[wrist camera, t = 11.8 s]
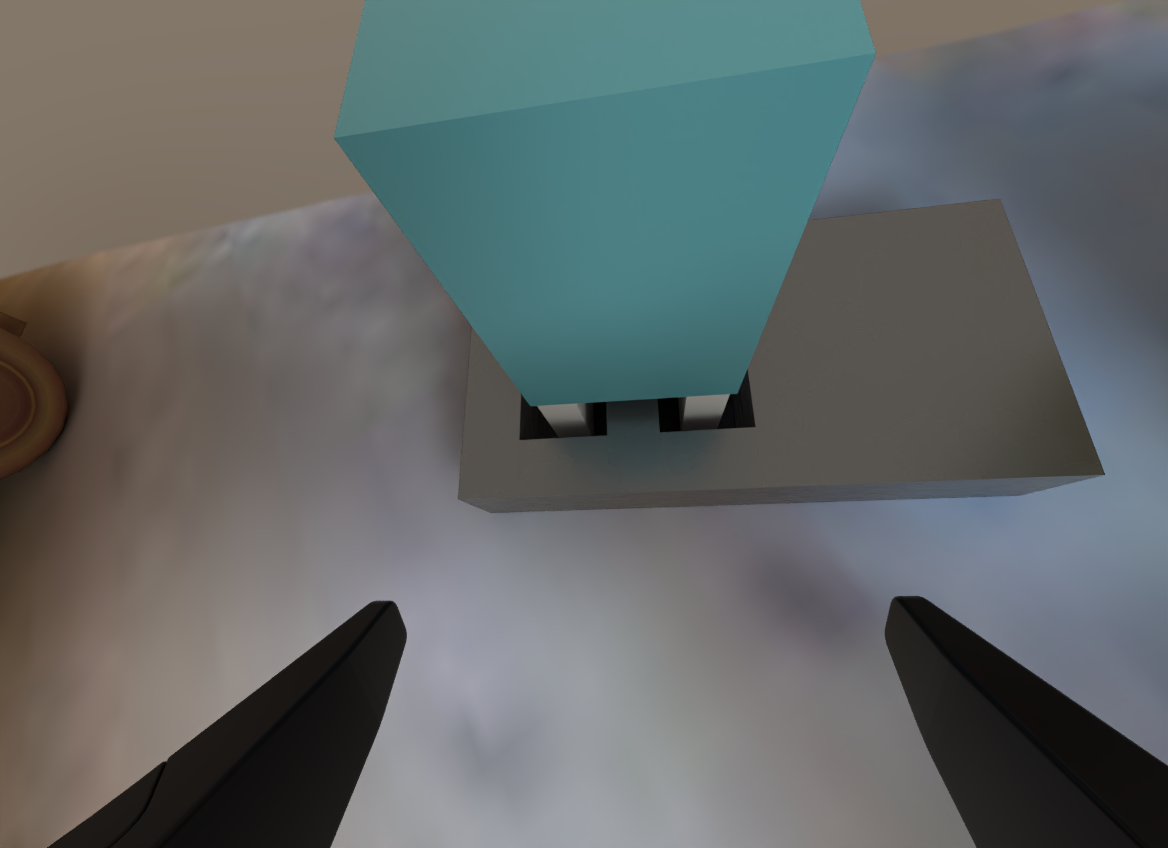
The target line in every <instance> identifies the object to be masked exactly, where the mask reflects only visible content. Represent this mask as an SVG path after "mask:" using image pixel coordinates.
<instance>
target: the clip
mask: <svg viewBox="0 0 1168 848" xmlns="http://www.w3.org/2000/svg"><path fill="white" fill-rule="evenodd" d="M875 54H876V51H875V48H874V45H873V42H872V39H871V35H870V32H869V29H868V25H867V22H866V19H865V15H864V12H863V9H862V5H861V2H860V0H365V3H364V8H363V12H362V17H361V21H360V25H359V30H358V34H357V39H356V43H355V47H354V52H353V56H352V60H351V65H350V69H349V74H348V78H347V82H346V87H345V91H344V96H343V100H342V104H341V108H340V113H339V117H338V122H337V126H336V130H335V135H334V139H335V140H336V142H337V143H338V144H339V145H340V147H341V148H342V150H343V151H344V152H345V154H346V155H347V157H348V158H349V159H350V161H351V162H352V163H353V165H354V166H355V168H356V169H357V170H358V172H359V173H360V174H361V176H362V177H363V178H364V180H365V181H366V183H367V184H368V185H369V187H370V188H371V189H372V191H373V192H374V193H375V195H376V196H377V198H378V199H379V200H380V202H381V203H382V204H383V206H384V207H385V208H386V210H387V211H388V213H389V214H390V215H391V217H392V218H393V219H394V221H395V222H396V223H397V225H398V226H399V228H400V229H401V230H402V232H403V233H404V234H405V236H406V237H407V238H408V240H409V241H410V243H411V244H412V245H413V247H414V248H415V249H416V251H417V252H418V253H419V255H420V256H421V258H422V259H423V260H424V262H425V263H426V264H427V266H428V267H429V269H430V270H431V271H432V273H433V274H434V275H435V277H436V278H437V279H438V281H439V282H440V284H441V285H442V286H443V288H444V289H445V290H446V292H447V293H448V294H449V296H450V297H451V299H452V300H453V301H454V303H455V304H456V305H457V307H458V308H459V309H460V311H461V312H462V314H463V315H464V316H465V318H466V319H467V320H468V322H469V323H470V324H471V326H472V327H473V329H474V330H475V331H476V333H477V334H478V335H479V337H480V338H481V339H482V341H483V342H484V344H485V345H486V346H487V348H488V349H489V350H490V352H491V353H492V354H493V356H494V357H495V359H496V360H497V361H498V363H499V364H500V365H501V367H502V368H503V369H504V371H505V372H506V374H507V375H508V376H509V378H510V379H511V380H512V382H513V383H514V384H515V386H516V387H517V389H518V390H519V391H520V393H521V394H522V395H523V397H524V398H525V399H526V401H527V402H528V404H529V405H530V406H537V407H538V408H539V410H540V411H541V412H542V414H543V415H544V417H545V418H546V420H547V421H548V422H549V424H550V425H551V427H552V428H553V430H554V431H555V433H556V434H557V435H558V437H559V438H569V437H587V436H594V402H609V401H626V400H642V399H658V398H675V397H678V407H679V420H680V431H695V430H713V429H717V428H718V425H719V423H720V420H721V417H722V414H723V412H724V409H725V406H726V404H727V401H728V398H729V395H730V394H737V393H738V391H739V388H740V386H741V383H742V381H743V379H744V376H745V374H746V371H747V369H748V366H749V364H750V361H751V359H752V356H753V354H754V351H755V349H756V347H757V344H758V342H759V339H760V337H761V334H762V332H763V329H764V327H765V324H766V322H767V320H768V317H769V315H770V312H771V310H772V307H773V305H774V302H775V300H776V297H777V295H778V293H779V290H780V288H781V285H782V283H783V280H784V278H785V275H786V273H787V270H788V268H789V266H790V263H791V261H792V258H793V256H794V253H795V251H796V248H797V246H798V243H799V241H800V239H801V236H802V234H803V231H804V229H805V226H806V224H807V221H808V219H809V216H810V214H811V212H812V209H813V207H814V204H815V202H816V199H817V197H818V194H819V192H820V189H821V187H822V184H823V182H824V180H825V177H826V175H827V172H828V170H829V167H830V165H831V162H832V160H833V157H834V155H835V153H836V150H837V148H838V145H839V143H840V140H841V138H842V135H843V133H844V130H845V128H846V126H847V123H848V121H849V118H850V116H851V113H852V111H853V108H854V106H855V103H856V101H857V99H858V96H859V94H860V91H861V89H862V86H863V84H864V81H865V79H866V76H867V74H868V72H869V69H870V67H871V64H872V62H873V59H874V57H875Z"/></svg>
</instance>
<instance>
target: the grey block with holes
mask: <svg viewBox="0 0 1168 848" xmlns="http://www.w3.org/2000/svg"><path fill="white" fill-rule="evenodd" d="M732 397H733V405H734V413H735V421H736V428H731V429H713V430H695V431H677V432H660V430H659V414H658V399H642V400H626V401H609V402H606V408H607V435H605V436H587V437H569V438H551V439H542V432H543V414H542V412H541V411H540V410H539V408H538V407H537V406H530V405H529V404H528V402H527V401H526V399H525V398H524V397H523V395H522V394H521V393H520V391H519V390H518V389H517V387H516V386H515V384H514V383H513V382H512V380H511V379H510V378H509V376H508V375H507V374H506V372H505V371H504V369H503V368H502V367H501V365H500V364H499V363H498V361H497V360H496V359H495V357H494V356H493V354H492V353H491V352H490V350H489V349H488V348H487V346H486V345H485V344H484V342H483V341H482V339H481V338H480V337H479V335H478V334H477V333H476V331H475V330H474V329H473V327H472V328H471V340H470V353H469V366H468V378H467V391H466V403H465V416H464V429H463V441H462V454H461V467H460V479H459V492H458V499H459V500H461V501H464V502H466V503H469V504H471V505H473V506H476V507H478V508H481V509H483V510H485V511H488V512H490V513H498V512H529V511H559V510H590V509H620V508H651V507H681V506H712V505H743V504H773V503H804V502H834V501H865V500H895V499H926V498H956V497H987V496H1018V495H1024V494H1028V493H1032V492H1036V491H1041V490H1045V489H1049V488H1053V487H1057V486H1061V485H1065V484H1069V483H1073V482H1078V481H1082V480H1086V479H1090V478H1094V477H1098V476H1102V475H1105V473H1104V470H1103V468H1102V465H1101V463H1100V460H1099V457H1098V455H1097V452H1096V449H1095V447H1094V444H1093V442H1092V439H1091V436H1090V434H1089V431H1088V428H1087V426H1086V423H1085V421H1084V418H1083V415H1082V413H1081V410H1080V408H1079V405H1078V402H1077V400H1076V397H1075V394H1074V392H1073V389H1072V387H1071V384H1070V381H1069V379H1068V376H1067V373H1066V371H1065V368H1064V366H1063V363H1062V360H1061V358H1060V355H1059V352H1058V350H1057V347H1056V345H1055V342H1054V339H1053V337H1052V334H1051V332H1050V329H1049V326H1048V324H1047V321H1046V318H1045V316H1044V313H1043V311H1042V308H1041V305H1040V303H1039V300H1038V297H1037V295H1036V292H1035V290H1034V287H1033V284H1032V282H1031V279H1030V276H1029V274H1028V271H1027V269H1026V266H1025V263H1024V261H1023V258H1022V255H1021V253H1020V250H1019V248H1018V245H1017V242H1016V240H1015V237H1014V235H1013V232H1012V229H1011V227H1010V224H1009V221H1008V219H1007V216H1006V214H1005V211H1004V208H1003V206H1002V203H1001V200H1000V199H993V200H984V201H975V202H966V203H958V204H949V205H940V206H931V207H923V208H914V209H905V210H896V211H888V212H879V213H870V214H861V215H853V216H844V217H835V218H826V219H817V220H809V221H807V224H806V226H805V229H804V231H803V234H802V236H801V239H800V241H799V243H798V246H797V248H796V251H795V253H794V256H793V258H792V261H791V263H790V266H789V268H788V270H787V273H786V275H785V278H784V280H783V283H782V285H781V288H780V290H779V293H778V295H777V297H776V300H775V302H774V305H773V307H772V310H771V312H770V315H769V317H768V320H767V322H766V324H765V327H764V329H763V332H762V334H761V337H760V339H759V342H758V344H757V347H756V349H755V351H754V354H753V356H752V359H751V361H750V364H749V366H748V369H747V371H746V374H745V376H744V379H743V381H742V383H741V386H740V388H739V391H738V393H737V394H732Z"/></svg>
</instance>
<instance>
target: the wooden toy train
mask: <svg viewBox="0 0 1168 848" xmlns="http://www.w3.org/2000/svg"><path fill="white" fill-rule="evenodd" d="M26 324H27V323H26V322H23V321H21V320H19V319H16V318H14V317H11V316H9V315H6V314H4V313H1V312H0V479H2V478H5V477H7V476H9V475H12V474H14V473H16V472H19V471H21V470H22V469H24V468H25V467H27V466H28V465H29V464H31V463H32V462H33V461H34V460H36V459H37V458H38V457H40V456H41V455H42V454H43V453H45V452H46V451H47V450H49V448H50V447H51V446H52V444H53V443H54V441H55V440H56V438H57V437H58V435H59V434H60V432H61V431H62V430H63V426H64V422H65V418H66V414H67V410H68V404H67V398H66V392H65V386H64V384H63V382H62V380H61V378H60V377H59V375H58V373H57V372H56V370H55V368H54V366H53V365H52V363H50V362H49V361H48V360H47V359H46V358H45V357H44V356H43V355H42V354H40V353H39V352H38V351H37V350H36V349H35V348H34V347H33V346H32V345H30V344H29V343H28V342H26V341H25V340H23V339H21V338H20V336H21V334H22V332H23V330H24V328H25V326H26Z"/></svg>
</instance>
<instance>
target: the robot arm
mask: <svg viewBox="0 0 1168 848" xmlns="http://www.w3.org/2000/svg"><path fill="white" fill-rule="evenodd" d="M406 639H407V632H406V627H405V625H404V622H403V620H402V617H401V615H400V612H399V610H398V607H397V605H396V603H394V602H393V601H373V602H371V603H369V604H368V605H367V606H365V607H364V608H363V609H361V610H360V611H359V612H357V613H356V614H355V615H354V616H352V617H351V618H350V619H348V620H347V621H346V622H344V623H343V624H342V625H341V626H339V627H338V628H337V629H335V630H334V631H333V632H331V633H330V634H329V635H328V636H326V637H325V638H324V639H322V640H321V641H320V642H318V643H317V644H316V645H315V646H313V647H312V648H311V649H309V650H308V651H307V652H305V653H304V654H303V655H302V656H300V657H299V658H298V659H296V660H295V661H294V662H292V663H291V664H290V665H289V666H287V667H286V668H285V669H283V670H282V671H281V672H279V673H278V674H277V675H275V676H274V677H273V678H272V679H270V680H269V681H268V682H266V683H265V684H264V685H262V686H261V687H260V688H259V689H257V690H256V691H255V692H253V693H252V694H251V695H249V696H248V697H247V698H246V699H244V700H243V701H242V702H240V703H239V704H238V705H236V706H235V707H234V708H233V709H231V710H230V711H229V712H227V713H226V714H225V715H223V716H222V717H221V718H220V719H218V720H217V721H216V722H214V723H213V724H212V725H210V726H209V727H208V728H207V729H205V730H204V731H203V732H201V733H200V734H199V735H197V736H196V737H195V738H193V739H192V740H191V741H190V742H188V743H187V744H186V745H184V746H183V747H182V748H180V749H179V750H178V751H177V752H175V753H174V754H173V755H171V756H170V757H169V758H168V760H167V762H166V761H165V762H162V763H161V764H159V765H158V766H157V767H156V768H154V769H153V770H152V771H150V772H149V773H148V774H146V775H145V776H144V777H143V778H141V779H140V780H139V781H137V782H136V783H135V784H133V785H132V786H131V787H129V788H128V789H127V790H125V791H124V792H123V793H121V794H120V795H119V796H117V797H116V798H115V799H113V800H112V801H111V802H109V803H108V804H107V805H105V806H104V807H103V808H101V809H100V810H99V811H97V812H96V813H95V814H93V815H92V816H91V817H89V818H88V819H87V820H85V821H84V822H82V823H81V824H80V825H78V826H77V827H75V828H74V829H73V830H71V831H70V832H68V833H67V834H66V835H64V836H63V837H61V838H60V839H59V840H57V841H56V842H54V843H53V844H52V845H50V846H49V847H47V848H330V847H331V845H332V842H333V840H334V837H335V835H336V833H337V830H338V828H339V825H340V823H341V820H342V818H343V815H344V813H345V811H346V808H347V806H348V803H349V801H350V798H351V796H352V794H353V791H354V789H355V786H356V784H357V781H358V779H359V776H360V774H361V772H362V769H363V767H364V764H365V762H366V759H367V757H368V755H369V752H370V750H371V747H372V745H373V742H374V740H375V737H376V735H377V732H378V730H379V727H380V724H381V721H382V718H383V716H384V713H385V709H386V706H387V703H388V700H389V696H390V693H391V690H392V687H393V683H394V680H395V677H396V674H397V670H398V667H399V664H400V661H401V657H402V654H403V651H404V647H405V644H406ZM885 640H886V644H887V647H888V649H889V652H890V655H891V657H892V660H893V662H894V665H895V668H896V670H897V673H898V675H899V678H900V681H901V683H902V686H903V689H904V691H905V694H906V696H907V699H908V702H909V704H910V707H911V709H912V712H913V715H914V717H915V720H916V723H917V725H918V728H919V730H920V732H921V735H922V737H923V740H924V742H925V744H926V746H927V748H928V751H929V753H930V755H931V757H932V759H933V761H934V763H935V765H936V767H937V769H938V771H939V773H940V775H941V777H942V779H943V781H944V783H945V785H946V787H947V789H948V791H949V793H950V795H951V797H952V799H953V801H954V803H955V805H956V807H957V809H958V811H959V813H960V815H961V817H962V819H963V821H964V823H965V825H966V827H967V829H968V831H969V833H970V835H971V837H972V839H973V841H974V843H975V845H976V847H977V848H1168V766H1167V765H1166V764H1164V763H1163V762H1162V761H1160V760H1159V759H1157V758H1156V757H1154V756H1153V755H1151V754H1150V753H1149V752H1147V751H1146V750H1144V749H1143V748H1141V747H1140V746H1138V745H1137V744H1135V743H1134V742H1133V741H1131V740H1130V739H1128V738H1127V737H1125V736H1124V735H1122V734H1121V733H1120V732H1118V731H1117V730H1115V729H1114V728H1112V727H1111V726H1109V725H1108V724H1106V723H1105V722H1104V721H1102V720H1101V719H1099V718H1098V717H1096V716H1095V715H1093V714H1092V713H1091V712H1089V711H1088V710H1086V709H1085V708H1083V707H1082V706H1080V705H1079V704H1077V703H1076V702H1075V701H1073V700H1072V699H1070V698H1069V697H1067V696H1066V695H1064V694H1063V693H1062V692H1060V691H1059V690H1057V689H1056V688H1054V687H1053V686H1051V685H1050V684H1048V683H1047V682H1046V681H1044V680H1043V679H1041V678H1040V677H1038V676H1037V675H1035V674H1034V673H1033V672H1031V671H1030V670H1028V669H1027V668H1025V667H1024V666H1022V665H1021V664H1019V663H1018V662H1017V661H1015V660H1014V659H1012V658H1011V657H1009V656H1008V655H1006V654H1005V653H1004V652H1002V651H1001V650H999V649H998V648H996V647H995V646H993V645H992V644H991V643H989V642H988V641H986V640H985V639H983V638H982V637H980V636H979V635H977V634H976V633H975V632H973V631H972V630H970V629H969V628H967V627H966V626H964V625H963V624H962V623H960V622H959V621H957V620H956V619H954V618H953V617H951V616H950V615H948V614H947V613H946V612H944V611H943V610H941V609H940V608H938V607H937V606H935V605H934V604H933V603H931V602H930V601H928V600H927V599H925V598H923V597H920V596H897V597H894V598H893V599H892V601H891V605H890V609H889V613H888V618H887V622H886V627H885Z"/></svg>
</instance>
